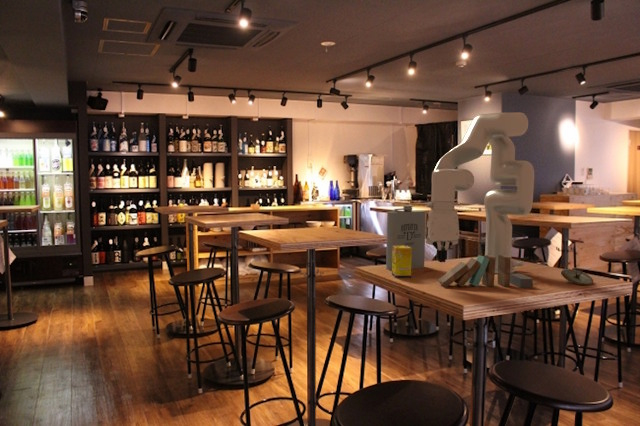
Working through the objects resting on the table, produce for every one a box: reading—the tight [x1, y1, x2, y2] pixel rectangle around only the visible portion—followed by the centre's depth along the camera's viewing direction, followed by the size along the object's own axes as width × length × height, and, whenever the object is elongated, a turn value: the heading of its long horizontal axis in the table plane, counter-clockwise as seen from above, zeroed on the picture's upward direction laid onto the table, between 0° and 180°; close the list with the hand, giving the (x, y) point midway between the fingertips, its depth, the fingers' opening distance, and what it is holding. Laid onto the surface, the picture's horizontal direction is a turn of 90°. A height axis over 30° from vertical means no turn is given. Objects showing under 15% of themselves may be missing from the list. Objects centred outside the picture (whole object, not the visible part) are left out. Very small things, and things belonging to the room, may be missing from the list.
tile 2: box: [453, 257, 481, 288], centre depth 177 cm, size 2×5×10 cm
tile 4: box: [481, 254, 496, 288], centre depth 178 cm, size 2×5×10 cm, turn 5°
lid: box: [560, 268, 594, 286], centre depth 183 cm, size 11×10×5 cm
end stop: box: [510, 273, 534, 289], centre depth 179 cm, size 4×9×3 cm, turn 5°
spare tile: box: [466, 254, 490, 288], centre depth 177 cm, size 2×5×10 cm, turn 6°
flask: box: [385, 204, 427, 271], centre depth 208 cm, size 17×5×25 cm, turn 117°
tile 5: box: [496, 255, 512, 288], centre depth 178 cm, size 2×5×10 cm, turn 5°
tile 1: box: [437, 261, 470, 288], centre depth 177 cm, size 2×5×10 cm
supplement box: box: [391, 246, 412, 279], centre depth 192 cm, size 6×6×11 cm
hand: (441, 261), depth 176 cm, fingers closed
